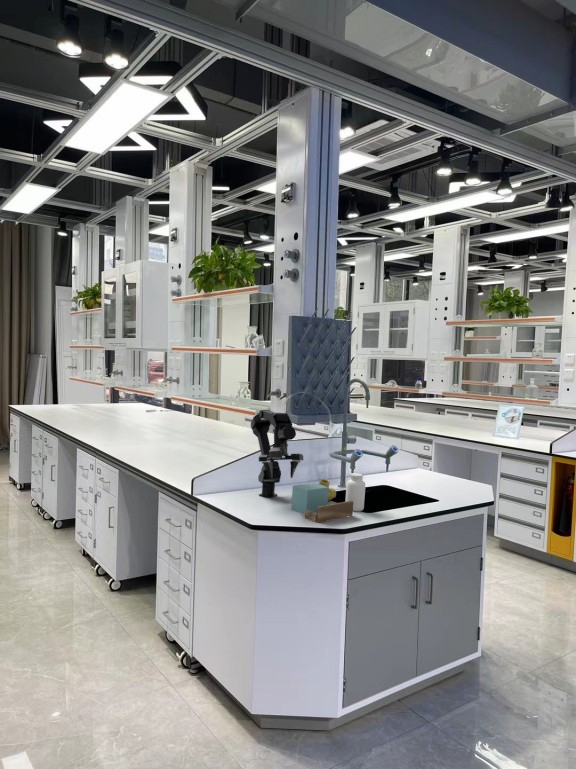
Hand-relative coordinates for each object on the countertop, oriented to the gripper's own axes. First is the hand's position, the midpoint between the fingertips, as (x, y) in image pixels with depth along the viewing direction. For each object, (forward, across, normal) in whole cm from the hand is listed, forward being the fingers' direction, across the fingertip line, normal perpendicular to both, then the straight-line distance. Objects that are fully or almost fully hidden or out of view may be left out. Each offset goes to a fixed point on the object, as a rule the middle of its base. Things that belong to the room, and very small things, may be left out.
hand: (281, 478), depth 243 cm
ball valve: (+10, +11, +18) cm, 24 cm away
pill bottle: (+14, +28, +12) cm, 34 cm away
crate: (+13, +12, 0) cm, 18 cm away
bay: (+16, +22, -6) cm, 28 cm away
